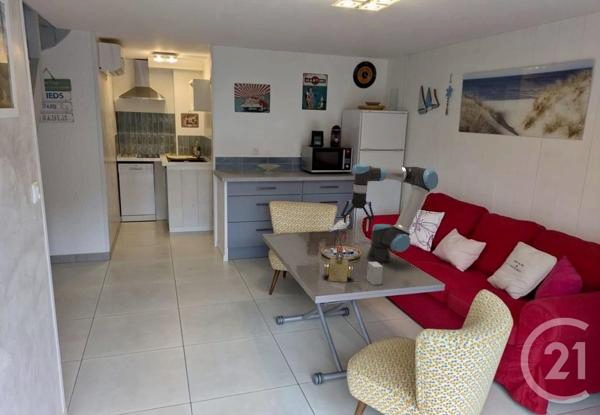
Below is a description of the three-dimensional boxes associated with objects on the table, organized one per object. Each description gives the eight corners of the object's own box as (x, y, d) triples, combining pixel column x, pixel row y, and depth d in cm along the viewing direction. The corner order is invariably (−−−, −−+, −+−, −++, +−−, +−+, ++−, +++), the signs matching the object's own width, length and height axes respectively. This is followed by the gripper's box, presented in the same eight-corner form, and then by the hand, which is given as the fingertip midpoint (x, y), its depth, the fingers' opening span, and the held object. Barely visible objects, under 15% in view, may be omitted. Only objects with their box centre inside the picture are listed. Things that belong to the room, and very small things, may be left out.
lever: (343, 260, 227) (343, 256, 227) (335, 260, 228) (335, 255, 227) (343, 251, 244) (343, 247, 243) (335, 250, 244) (336, 246, 243)
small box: (381, 284, 228) (383, 266, 225) (372, 285, 226) (374, 266, 224) (374, 278, 235) (376, 261, 233) (365, 279, 233) (367, 261, 231)
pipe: (351, 276, 235) (353, 263, 233) (352, 281, 228) (353, 268, 226) (323, 273, 236) (324, 260, 235) (323, 278, 229) (324, 265, 227)
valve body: (350, 276, 236) (351, 257, 234) (350, 282, 227) (352, 263, 225) (325, 274, 237) (327, 255, 235) (324, 280, 228) (326, 260, 226)
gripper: (380, 192, 234) (376, 229, 239) (338, 189, 237) (335, 226, 241) (381, 194, 227) (377, 233, 232) (338, 191, 229) (335, 229, 234)
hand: (356, 229), depth 237 cm, fingers open, 11 cm apart
